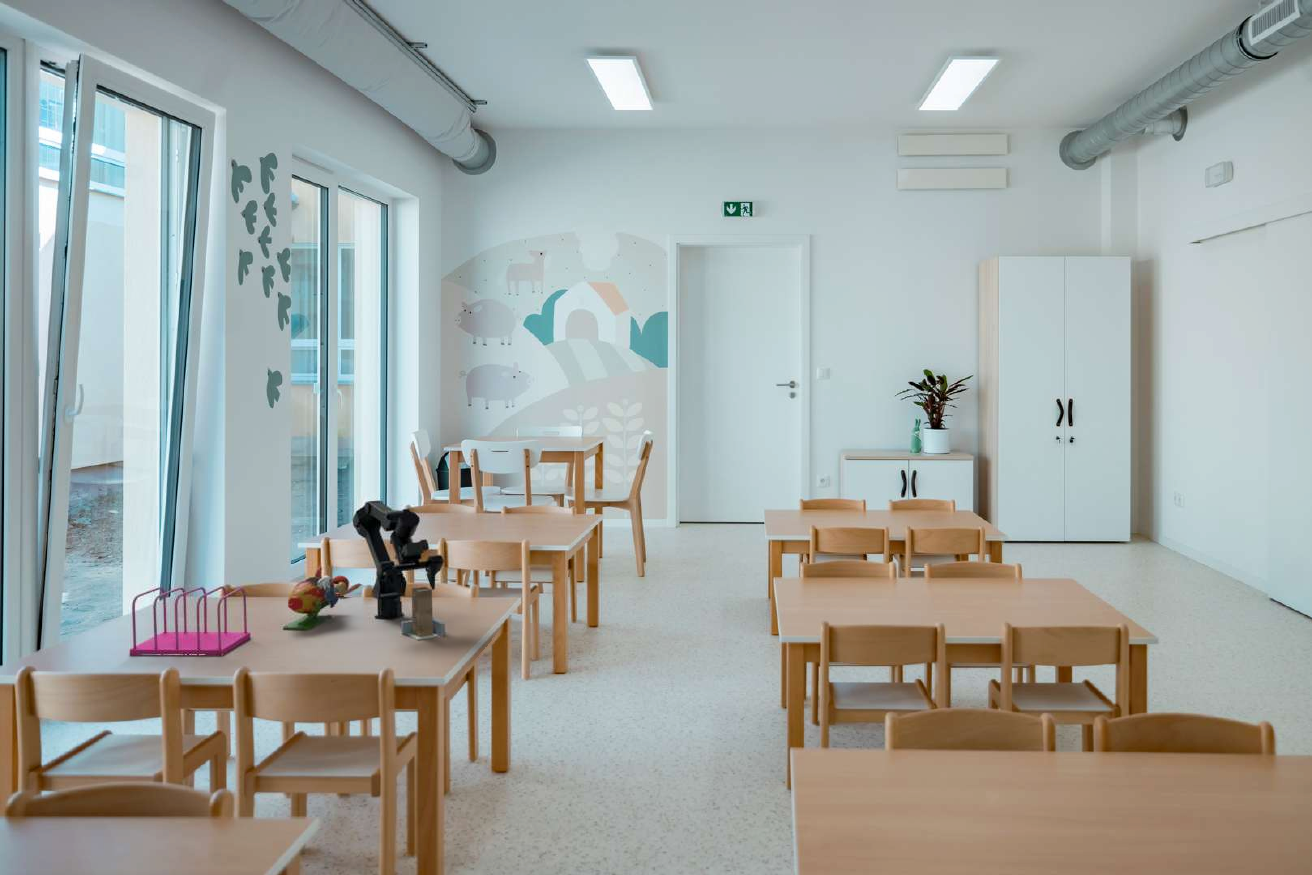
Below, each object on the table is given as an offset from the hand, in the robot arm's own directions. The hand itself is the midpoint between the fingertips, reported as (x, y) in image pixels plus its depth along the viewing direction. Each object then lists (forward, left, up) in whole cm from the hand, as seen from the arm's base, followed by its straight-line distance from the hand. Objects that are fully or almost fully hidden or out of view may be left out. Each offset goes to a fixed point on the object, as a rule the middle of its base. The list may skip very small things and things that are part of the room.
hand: (418, 591), depth 277 cm
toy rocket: (-37, +1, -12) cm, 39 cm away
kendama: (-54, +31, -13) cm, 63 cm away
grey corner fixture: (+2, -1, -12) cm, 12 cm away
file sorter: (-52, -31, -13) cm, 62 cm away
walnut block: (+2, -2, -12) cm, 12 cm away
